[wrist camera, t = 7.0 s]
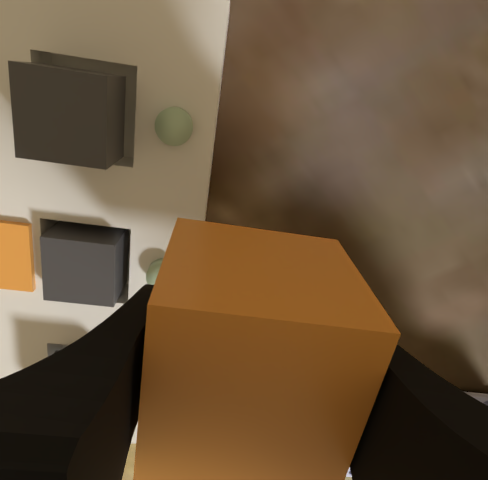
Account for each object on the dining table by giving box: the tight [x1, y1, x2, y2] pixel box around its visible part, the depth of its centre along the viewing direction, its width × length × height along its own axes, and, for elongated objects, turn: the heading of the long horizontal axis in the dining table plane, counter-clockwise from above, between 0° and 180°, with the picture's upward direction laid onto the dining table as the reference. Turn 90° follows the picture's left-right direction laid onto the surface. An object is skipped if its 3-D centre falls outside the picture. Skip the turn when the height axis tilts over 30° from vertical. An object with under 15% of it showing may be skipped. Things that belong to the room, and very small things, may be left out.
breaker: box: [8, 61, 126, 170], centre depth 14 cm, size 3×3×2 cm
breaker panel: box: [0, 0, 230, 443], centre depth 18 cm, size 10×22×3 cm, turn 171°
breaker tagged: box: [40, 221, 129, 307], centre depth 17 cm, size 3×3×2 cm
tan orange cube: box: [133, 218, 401, 480], centre depth 11 cm, size 5×5×5 cm
